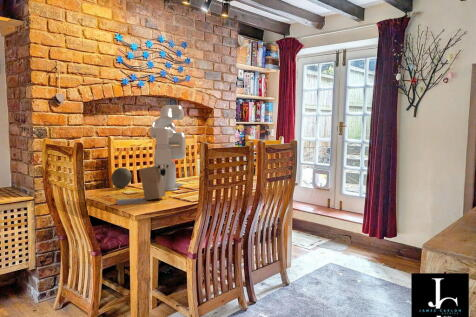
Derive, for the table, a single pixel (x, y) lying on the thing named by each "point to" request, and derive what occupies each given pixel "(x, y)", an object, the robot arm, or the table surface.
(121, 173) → the dark grey ball
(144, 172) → the wooden block
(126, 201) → the mat
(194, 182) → the table surface
